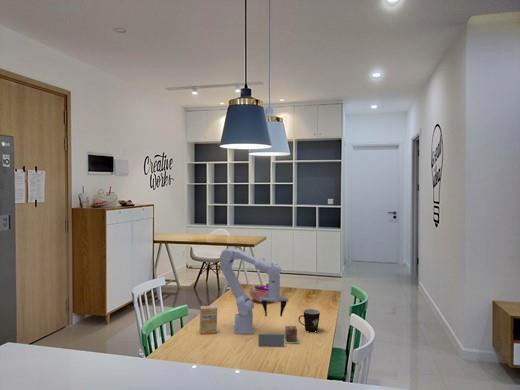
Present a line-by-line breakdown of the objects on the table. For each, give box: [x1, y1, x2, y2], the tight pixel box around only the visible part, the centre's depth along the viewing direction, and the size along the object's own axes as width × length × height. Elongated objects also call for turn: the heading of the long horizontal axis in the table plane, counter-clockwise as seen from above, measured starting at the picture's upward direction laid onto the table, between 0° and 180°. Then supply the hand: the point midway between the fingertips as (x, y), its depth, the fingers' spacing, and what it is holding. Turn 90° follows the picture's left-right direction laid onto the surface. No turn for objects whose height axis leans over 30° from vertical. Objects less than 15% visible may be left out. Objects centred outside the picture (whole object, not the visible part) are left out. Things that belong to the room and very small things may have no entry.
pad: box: [284, 336, 300, 344], centre depth 191 cm, size 7×7×1 cm
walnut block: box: [284, 325, 298, 342], centre depth 191 cm, size 5×5×6 cm
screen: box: [257, 333, 285, 347], centre depth 185 cm, size 12×1×6 cm, turn 92°
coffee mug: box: [298, 308, 321, 333], centre depth 206 cm, size 12×9×10 cm
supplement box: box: [199, 305, 218, 335], centre depth 200 cm, size 8×5×13 cm, turn 105°
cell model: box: [248, 283, 269, 303], centre depth 260 cm, size 17×20×11 cm
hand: (273, 315), depth 200 cm, fingers open, 7 cm apart
